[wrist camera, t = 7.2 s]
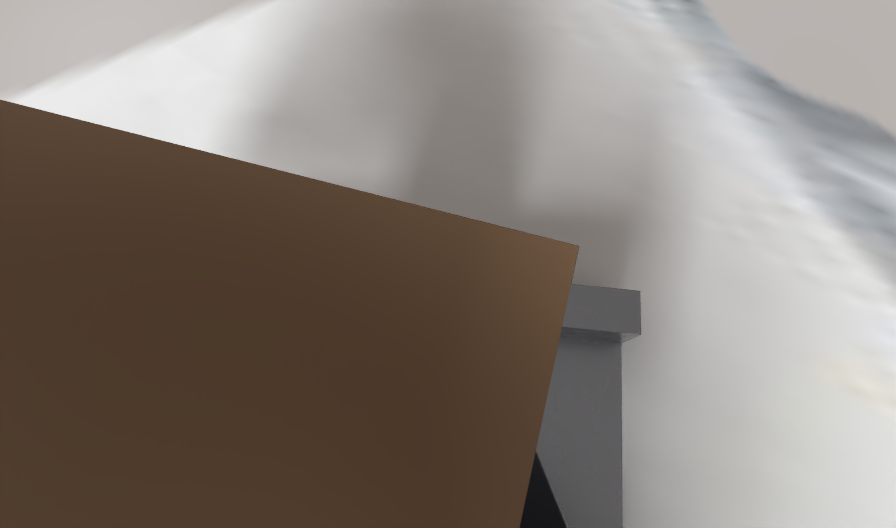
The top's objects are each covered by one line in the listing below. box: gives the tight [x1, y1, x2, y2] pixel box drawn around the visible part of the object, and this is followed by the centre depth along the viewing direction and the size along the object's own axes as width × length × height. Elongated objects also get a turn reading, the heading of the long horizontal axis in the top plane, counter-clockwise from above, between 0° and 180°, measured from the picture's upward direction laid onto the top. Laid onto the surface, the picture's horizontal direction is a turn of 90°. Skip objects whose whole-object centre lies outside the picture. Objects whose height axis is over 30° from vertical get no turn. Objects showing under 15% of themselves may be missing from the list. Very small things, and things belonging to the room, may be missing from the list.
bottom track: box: [536, 284, 641, 528], centre depth 17 cm, size 12×14×3 cm
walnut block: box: [0, 100, 579, 528], centre depth 9 cm, size 5×5×12 cm
